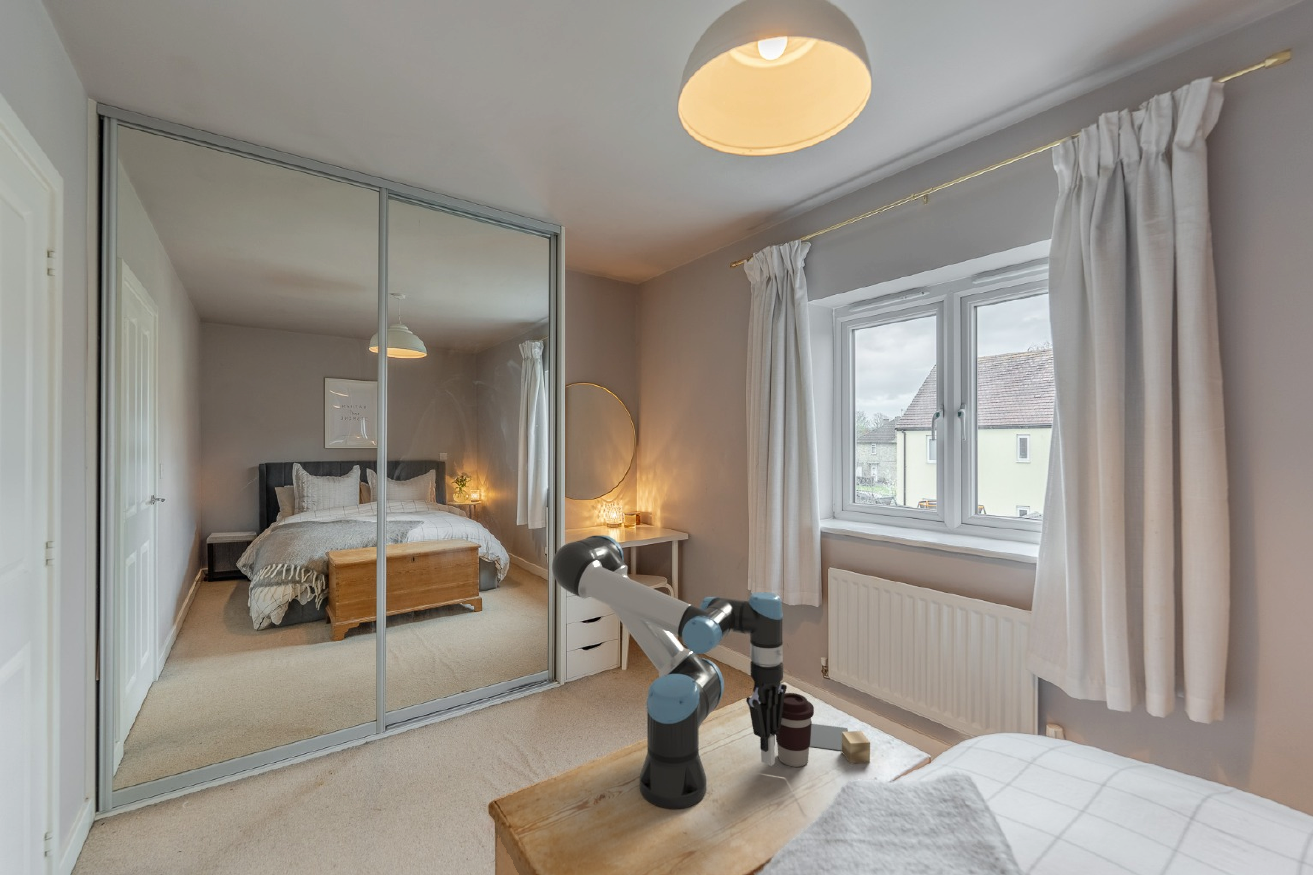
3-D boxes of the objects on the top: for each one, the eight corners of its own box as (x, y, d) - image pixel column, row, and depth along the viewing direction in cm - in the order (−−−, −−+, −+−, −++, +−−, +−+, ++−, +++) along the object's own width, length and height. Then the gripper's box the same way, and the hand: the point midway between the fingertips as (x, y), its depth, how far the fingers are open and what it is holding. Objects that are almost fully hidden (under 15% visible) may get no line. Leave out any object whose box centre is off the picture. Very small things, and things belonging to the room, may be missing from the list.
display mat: (801, 745, 146) (801, 744, 146) (802, 723, 158) (802, 722, 158) (850, 752, 143) (850, 751, 143) (847, 728, 155) (847, 727, 155)
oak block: (850, 763, 138) (850, 743, 138) (841, 751, 143) (841, 731, 143) (869, 762, 139) (870, 742, 139) (860, 750, 144) (861, 730, 144)
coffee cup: (773, 768, 136) (773, 706, 136) (771, 746, 146) (771, 688, 146) (816, 772, 134) (815, 709, 134) (811, 750, 144) (811, 691, 144)
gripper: (763, 673, 125) (764, 780, 125) (796, 658, 134) (797, 758, 134) (736, 664, 131) (737, 767, 131) (769, 649, 140) (771, 745, 140)
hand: (767, 762), depth 132 cm, fingers closed
